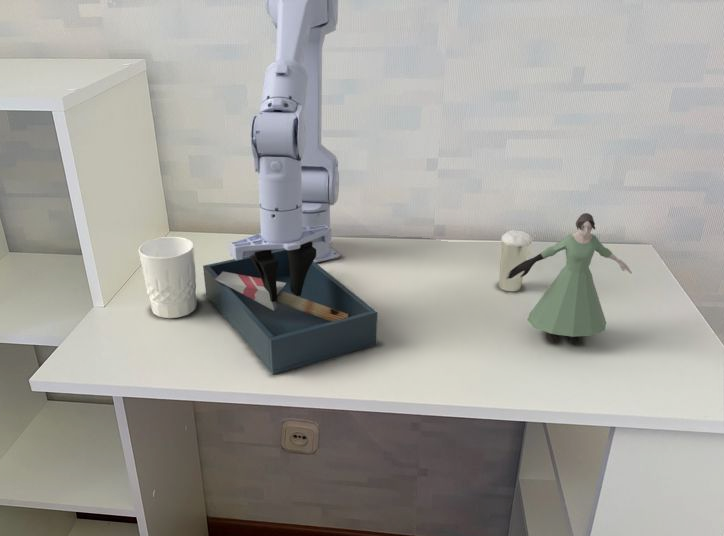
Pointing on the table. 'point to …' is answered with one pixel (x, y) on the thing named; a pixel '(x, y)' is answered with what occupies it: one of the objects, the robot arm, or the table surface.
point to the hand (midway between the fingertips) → (283, 296)
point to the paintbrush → (257, 292)
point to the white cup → (169, 275)
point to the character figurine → (571, 287)
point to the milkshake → (513, 257)
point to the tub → (293, 316)
